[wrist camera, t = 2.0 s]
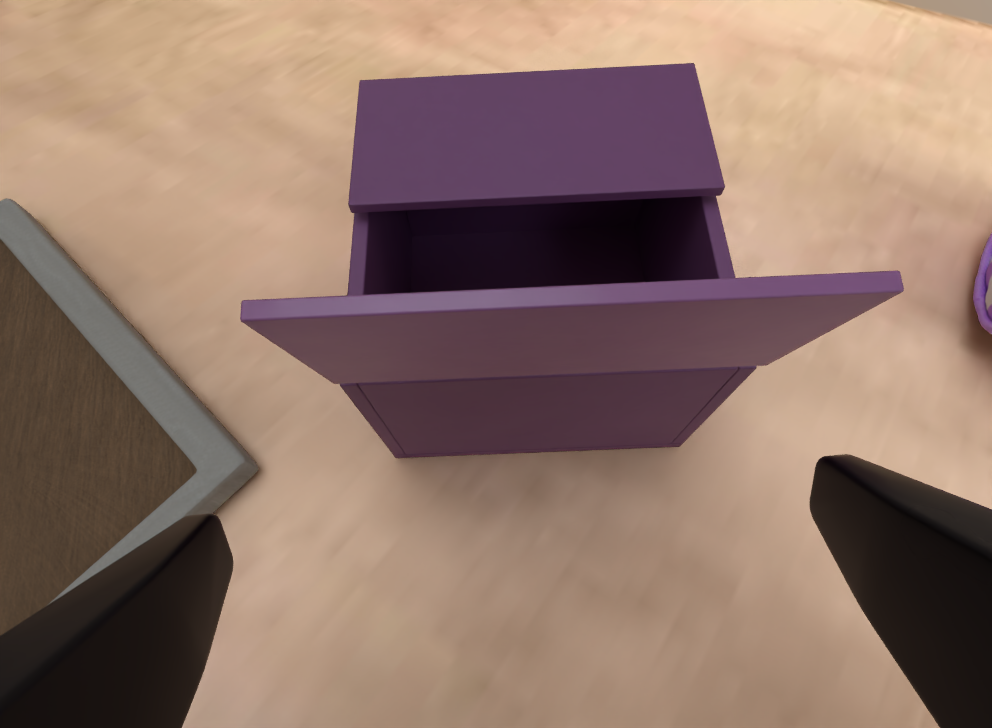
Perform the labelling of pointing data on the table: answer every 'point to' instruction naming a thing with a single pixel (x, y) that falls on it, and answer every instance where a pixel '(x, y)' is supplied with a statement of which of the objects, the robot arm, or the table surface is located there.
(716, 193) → the box
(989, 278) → the pencil case
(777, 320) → the flap
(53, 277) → the grey rectangular tray
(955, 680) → the robot arm
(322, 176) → the table surface
